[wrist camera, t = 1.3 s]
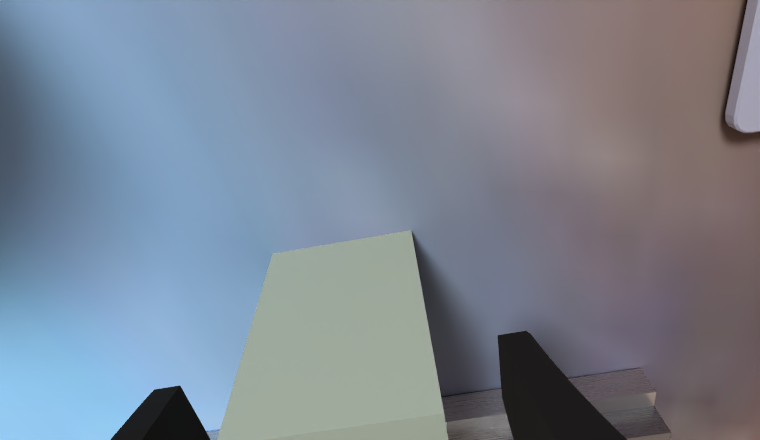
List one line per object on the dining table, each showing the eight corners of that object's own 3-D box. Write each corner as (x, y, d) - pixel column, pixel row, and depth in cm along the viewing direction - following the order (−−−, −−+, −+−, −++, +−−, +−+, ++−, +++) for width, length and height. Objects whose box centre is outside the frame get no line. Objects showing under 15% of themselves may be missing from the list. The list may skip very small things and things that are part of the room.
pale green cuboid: (272, 253, 13) (215, 446, 8) (411, 230, 13) (444, 413, 8) (304, 344, 15) (274, 550, 10) (426, 325, 15) (462, 526, 10)
